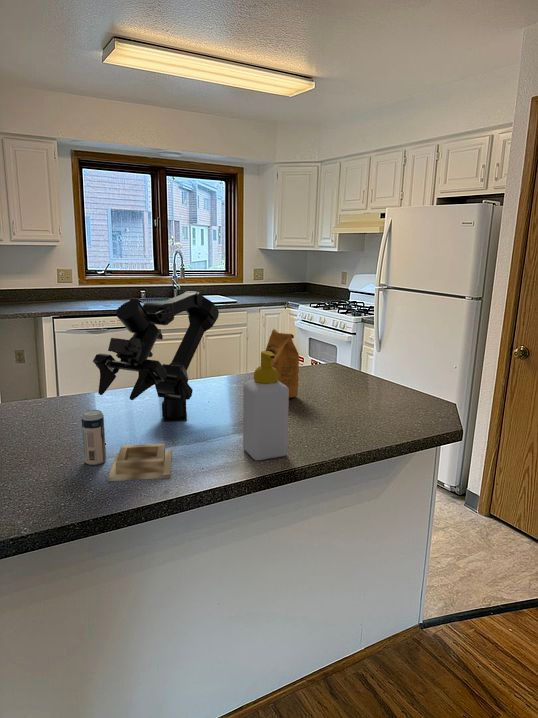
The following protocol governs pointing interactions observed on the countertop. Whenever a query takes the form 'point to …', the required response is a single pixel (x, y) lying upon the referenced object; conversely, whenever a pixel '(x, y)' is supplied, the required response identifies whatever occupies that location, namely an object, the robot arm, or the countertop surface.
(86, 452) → the beer can
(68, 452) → the countertop surface
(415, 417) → the countertop surface
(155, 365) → the robot arm
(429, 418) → the countertop surface
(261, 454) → the soap bottle
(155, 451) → the socket board
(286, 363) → the coffee package
